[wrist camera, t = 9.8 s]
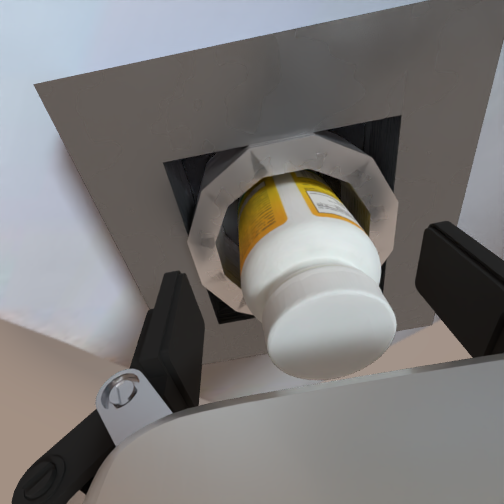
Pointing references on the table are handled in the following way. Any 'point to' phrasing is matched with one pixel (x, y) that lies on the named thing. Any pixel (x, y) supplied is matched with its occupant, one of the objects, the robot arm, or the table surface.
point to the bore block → (285, 144)
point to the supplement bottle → (311, 278)
